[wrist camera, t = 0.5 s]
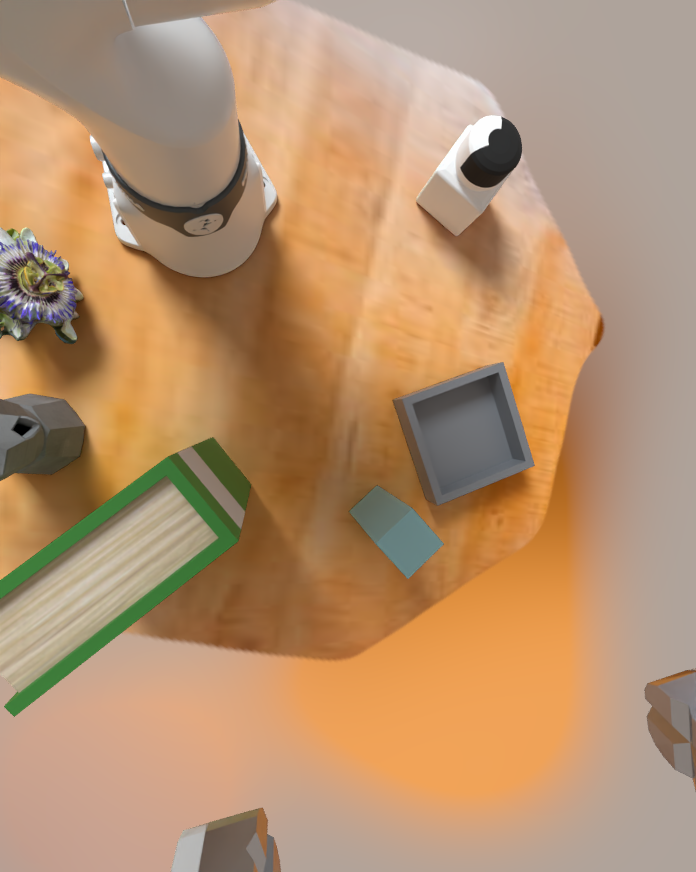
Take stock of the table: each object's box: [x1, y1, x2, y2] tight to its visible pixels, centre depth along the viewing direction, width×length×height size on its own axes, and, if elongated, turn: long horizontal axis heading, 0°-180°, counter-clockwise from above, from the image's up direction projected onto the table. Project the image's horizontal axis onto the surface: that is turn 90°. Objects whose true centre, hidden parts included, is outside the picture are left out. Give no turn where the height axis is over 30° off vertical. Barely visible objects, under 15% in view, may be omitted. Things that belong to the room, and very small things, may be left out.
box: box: [393, 362, 535, 506], centre depth 56 cm, size 14×14×4 cm
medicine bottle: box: [416, 116, 522, 236], centre depth 50 cm, size 7×7×12 cm
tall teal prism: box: [349, 485, 444, 579], centre depth 49 cm, size 5×5×14 cm
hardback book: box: [0, 437, 251, 716], centre depth 40 cm, size 18×7×24 cm, turn 127°
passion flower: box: [0, 227, 84, 344], centre depth 44 cm, size 11×11×12 cm
